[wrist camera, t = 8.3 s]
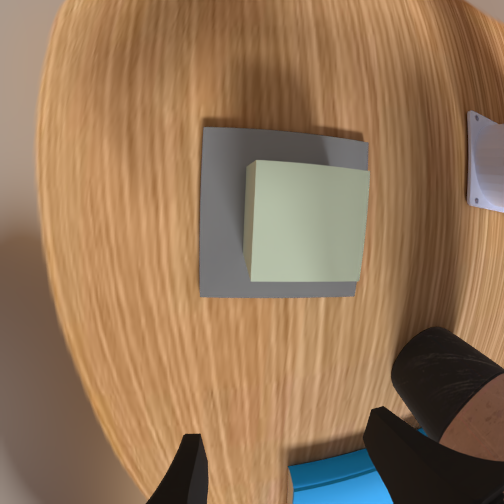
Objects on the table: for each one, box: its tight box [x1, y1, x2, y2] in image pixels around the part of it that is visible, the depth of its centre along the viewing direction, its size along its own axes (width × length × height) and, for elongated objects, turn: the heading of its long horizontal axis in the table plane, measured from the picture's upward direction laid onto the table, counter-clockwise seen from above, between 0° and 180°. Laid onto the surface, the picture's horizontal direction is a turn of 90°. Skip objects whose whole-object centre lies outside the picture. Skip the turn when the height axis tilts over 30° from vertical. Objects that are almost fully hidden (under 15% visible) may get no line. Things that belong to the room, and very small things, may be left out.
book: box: [287, 428, 428, 504], centre depth 25 cm, size 17×4×25 cm
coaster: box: [200, 127, 368, 298], centre depth 17 cm, size 10×10×1 cm
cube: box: [243, 160, 370, 282], centre depth 15 cm, size 5×5×5 cm
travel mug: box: [391, 327, 504, 500], centre depth 12 cm, size 8×8×20 cm
